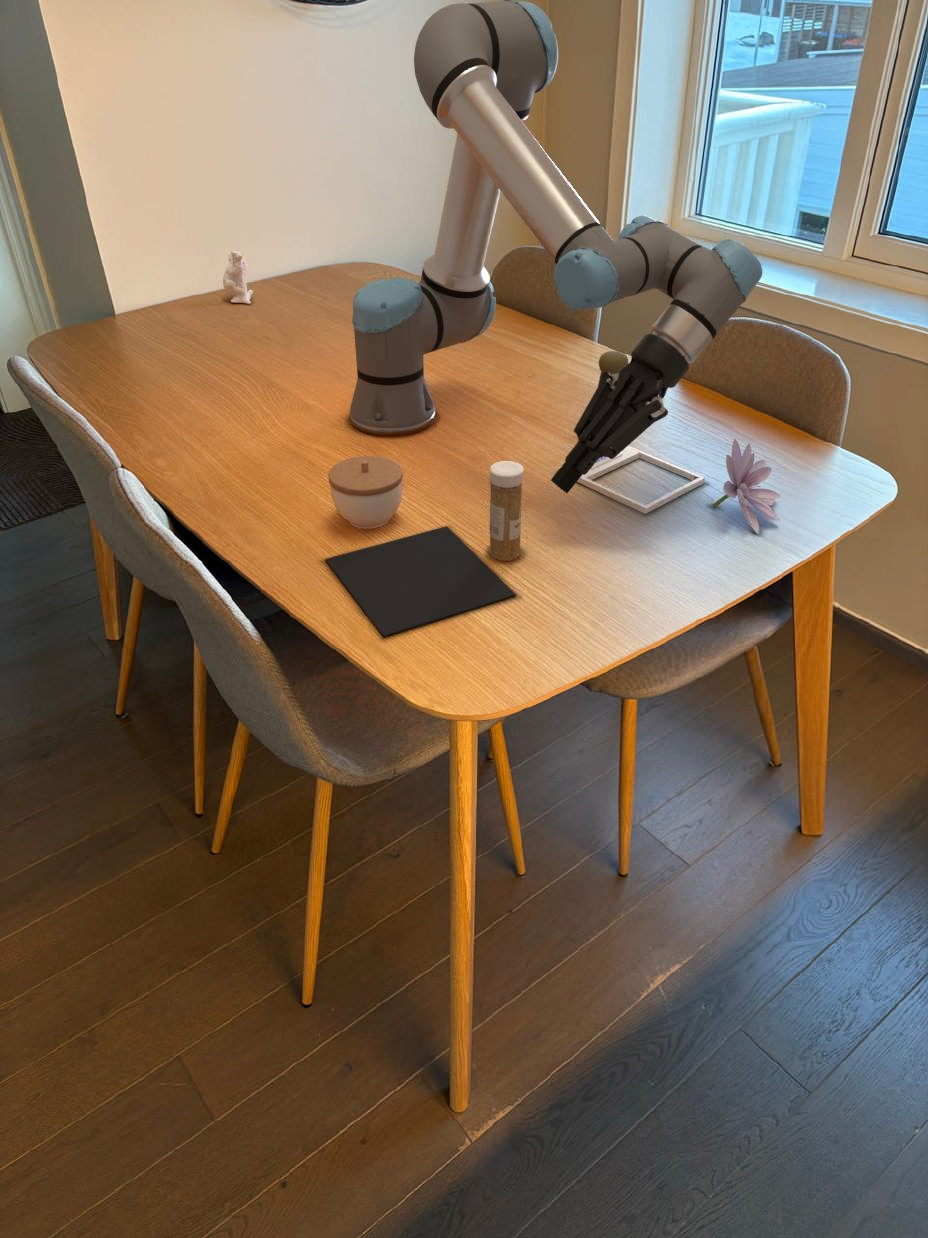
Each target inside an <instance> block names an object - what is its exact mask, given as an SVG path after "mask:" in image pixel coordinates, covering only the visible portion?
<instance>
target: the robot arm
mask: <svg viewBox="0 0 928 1238" xmlns="http://www.w3.org/2000/svg"><path fill="white" fill-rule="evenodd" d="M415 42H416V43H415V45H414V54H413V68H414V76H415V79H416V83H417V86H418V89H419V92H420V94H421V97H422V98H423V101H424V102H425V104H426V106H427V107H428V109H429V110H430V112H431V113H432V115H433V116H434V117H435V119H436V120H437V121H438V123H439V124H440V125H441V126H442V127H443V128H445V129H453V130H454V131H455V133H456V137H455V143H454V148H453V154H452V159H451V164H450V170H449V175H448V180H447V185H446V191H445V197H444V202H443V207H442V212H441V218H440V221H439V222H440V223H439V227H438V228H439V229H438V233H437V238H436V244H435V249H434V254H432V255H430V256H429V257H427V258H426V259H425V260H424V261H423V265H422V271H421V276H420V280H419V282H417V280H414V279H412V278H409V277H392V278H389V279H388V278H382V279H378V280H375V281H372V282H370V283H367V284H365V285H364V286H362V287H361V288H359V290H357V291H356V293H355V295H354V297H353V301H352V316H351V322H352V325H353V332H354V333H353V335H354V346H355V347H354V348H355V360H356V362H355V363H356V373H357V379H356V384H355V388H354V390H353V395H352V399H351V403H350V407H349V418H350V420H349V421H350V423H351V425H352V426H353V427H354V428H355V429H357V430H358V431H361V432H363V433H366V434H369V435H374V436H380V437H381V436H382V437H398V436H407V435H412V434H416V433H419V432H421V431H424V430H426V429H428V428H429V427H431V425H433V423H434V422H435V421H436V408H435V407H436V406H435V403H434V400H433V396H432V395H431V392H430V390H429V386H428V384H427V381H426V379H425V371H424V369H425V368H424V363H425V361H424V355H427V354H430V353H433V352H437V351H439V350H443V349H445V348H446V349H447V348H448V347H453V346H455V345H459V344H463V343H464V344H465V343H467V342H469V341H472V340H473V339H475V338H476V337H477V338H478V337H479V336H481V335H482V334H483V333H485V332H486V331H487V330H488V329H489V328H490V326H491V324H492V322H493V321H494V318H495V314H496V308H497V300H496V297H495V296H494V293H495V289H494V286H493V284H492V282H491V280H490V274H489V272H488V271H487V269H486V267H485V262H486V257H487V252H488V248H489V244H490V239H491V234H492V231H493V227H494V222H495V218H496V213H497V209H498V204H499V200H500V197H501V193H502V195H503V196H504V198H505V199H506V200H507V201H508V203H509V204H510V205H511V207H512V208H513V210H515V212H516V214H518V216H519V217H520V219H521V220H522V222H524V224H525V225H526V226H527V228H528V229H529V230H530V232H531V233H532V235H533V236H534V238H536V240H537V241H538V243H539V244H540V245H541V246H542V248H543V249H544V250H545V252H546V253H547V255H548V256H549V257H550V258H551V260H552V261H553V263H555V268H554V270H553V284H554V286H555V289H556V291H557V292H556V294H557V297H558V299H559V300H560V301H561V303H563V304H564V305H565V306H566V307H568V308H569V309H570V310H574V311H577V312H578V311H579V312H581V311H583V312H584V311H589V310H593V309H599V308H600V309H601V308H603V307H606V306H607V307H608V305H610V304H611V303H614V302H617V301H621V300H623V299H625V298H627V297H633V296H636V295H638V294H641V293H645V292H647V291H651V290H653V289H655V290H658V291H660V292H661V293H663V294H664V295H666V296H668V297H669V298H671V299H672V301H671V302H670V303H669V305H668V306H667V307H666V308H665V310H664V311H663V312H662V313H661V314H660V315H659V317H658V318H657V319H656V320H655V321H654V323H653V324H652V325H651V327H650V333H646V334H645V335H644V336H642V339H641V340H640V341H639V342H638V343H637V344H636V346H635V347H634V348H633V350H632V351H631V353H630V357H631V359H630V361H629V363H628V365H627V366H625V367H624V368H622V369H621V370H620V372H619V373H616V374H612V375H610V374H609V373H608V372H607V371H605V372H603V373H602V375H601V378H600V377H599V379H600V382H599V381H598V383H599V386H598V385H597V388H596V390H595V391H594V393H593V394H592V397H591V398H590V400H589V402H588V404H587V405H586V407H585V409H584V411H583V413H582V414H581V416H580V418H579V419H578V421H577V423H576V425H575V426H574V429H573V432H574V434H575V435H576V437H577V442H576V444H575V445H574V446H573V448H572V449H571V450H570V451H569V452H568V454H567V455H566V456H565V459H564V463H563V464H562V465H561V466H560V467H561V468H560V469H559V470H558V469H557V471H556V472H555V474H554V475H553V476H552V478H550V481H551V482H552V483H553V485H556V487H557V488H559V489H560V490H561V491H562V492H563V493H565V494H569V492H570V491H571V490H572V489H573V488H574V486H575V484H577V483H578V482H577V481H578V480H579V478H580V477H581V476H582V475H585V474H586V473H587V472H588V471H589V470H590V469H591V468H592V466H593V465H594V464H595V463H596V461H597V460H598V459H599V458H602V457H608V458H610V459H613V458H615V457H616V456H617V455H618V454H619V453H620V452H621V451H623V450H624V449H625V448H626V447H627V446H630V445H631V444H632V443H634V441H635V440H636V439H637V438H639V436H641V435H642V434H643V433H644V432H645V431H646V430H648V428H650V427H651V426H652V425H653V424H654V423H657V422H658V421H660V420H662V419H664V418H665V417H667V416H668V415H669V411H668V409H667V408H666V407H665V406H664V400H663V399H664V397H665V396H666V394H667V391H668V389H673V388H676V386H677V385H678V384H679V382H680V381H681V380H682V379H683V377H684V376H685V375H686V373H688V371H689V369H690V368H689V367H690V365H689V364H694V363H695V362H696V361H697V359H698V358H699V357H700V356H701V355H702V354H703V352H704V351H705V350H706V349H707V347H708V346H709V345H710V344H711V342H712V341H713V340H714V339H715V338H716V336H717V335H718V333H719V332H720V331H721V330H722V328H723V327H724V326H725V325H726V324H727V323H728V321H729V320H730V319H731V318H732V317H733V315H734V314H735V313H736V312H737V311H738V309H739V308H740V307H741V306H742V305H743V304H744V303H746V302H747V298H748V297H749V295H750V294H751V293H752V291H753V290H754V289H755V287H756V286H757V284H758V283H759V282H760V280H761V279H762V276H763V267H762V263H761V261H760V260H759V258H758V256H756V255H755V253H754V252H752V250H751V249H749V247H747V246H746V245H744V244H743V243H741V242H740V241H738V240H735V239H733V240H732V239H730V238H723V239H721V240H720V241H719V242H718V243H717V244H716V245H714V246H713V247H712V249H710V248H708V247H706V246H702V245H701V244H700V243H698V242H696V241H694V240H693V239H691V238H689V237H688V236H686V235H684V234H683V233H681V232H679V231H678V230H676V229H674V228H672V227H671V226H670V225H669V224H668V223H665V222H664V221H662V220H658V219H655V218H653V217H650V216H648V215H638V216H636V217H634V218H633V219H632V220H631V221H630V223H627V224H626V225H624V227H623V228H622V229H621V231H620V233H619V234H618V236H617V238H612V237H611V235H610V234H609V233H608V231H607V230H606V229H605V228H604V227H603V225H602V224H601V223H600V222H599V220H598V219H597V218H596V216H595V215H594V213H593V212H592V211H591V210H590V208H589V207H588V206H587V204H586V203H585V202H584V201H583V199H582V197H580V196H579V195H580V194H578V192H577V191H576V189H574V188H573V186H572V184H571V183H570V182H569V181H568V180H567V178H566V177H565V176H564V174H563V173H562V172H561V170H560V169H559V168H558V167H557V165H556V164H555V162H554V161H553V160H552V158H551V157H550V156H549V154H548V153H547V152H546V151H545V149H544V148H543V146H541V144H540V143H539V141H538V140H537V139H536V138H535V136H534V135H533V134H532V132H531V131H530V130H529V128H528V127H527V126H526V124H525V123H524V122H523V121H526V120H527V119H528V117H529V116H530V111H531V107H532V103H533V100H534V94H537V93H541V92H542V91H543V90H544V89H545V87H547V86H549V85H550V84H551V82H552V81H553V78H554V76H555V74H556V71H557V67H558V61H559V47H558V40H557V35H556V33H555V32H554V30H553V24H552V21H551V19H549V17H548V15H547V14H546V13H545V12H544V10H543V9H542V8H540V7H539V6H538V5H537V4H535V3H533V2H530V1H522V0H503V1H502V0H501V1H487V2H472V3H465V2H461V3H460V2H458V3H451V4H448V5H446V6H444V7H441V8H440V9H438V10H437V11H435V12H433V13H432V15H430V16H429V18H428V19H427V20H426V21H425V22H424V24H423V25H422V27H421V29H420V31H419V33H418V36H417V39H416V41H415Z"/></svg>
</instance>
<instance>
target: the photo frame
mask: <svg viewBox="0 0 928 1238" xmlns="http://www.w3.org/2000/svg"><path fill="white" fill-rule="evenodd" d="M637 459H642V460H644V461H646V462H649V463H651V464H653V465H655V466H658V467H660V468H662V469H665V470H668V471H669V472H671V473H675V474H677V475H680V476H681V477H684V478H686V479H688V480H691V481H690V482H687V483H686V484H684V485H682V486H679V487H678V488H676V489H674V490H672V491H670V492H668V493H666V494H664V495H662V496H660V497H659V498H657V499H655V500H653V501H650V502H649V503H647V504H643V503H641V502H639V501H637V500H635V499H632V498H631V497H628V496H626V495H624V494H622V493H619V492H617V491H615V490H613V489H611V488H609V487H607V486H604V485H602V484H600V483H598V482H595V481H594V480H595V479H597V478H599V477H602V476H603V475H605V474H608V473H610V472H612V471H614V470H616V469H618V468H620V467H622V466H625V465H626V464H629V463H631V462H633V461H635V460H637ZM560 468H561V466H558V468H557V471H558V470H559V469H560ZM705 481H706V477H705V476H703V475H700V474H697V473H695V472H693V471H690V470H688V469H686V468H684V467H681V466H678V465H676V464H673V463H671V462H669V461H666V460H663V459H661V458H659V457H657V456H654V455H652V454H650V453H648V452H645V451H643V450H640V449H638V448H635V447H633V446H631V445H628V446H627V447H626V448H625V449H624V450H623V451H621V452H620V453H619V454H618V455H617V456H616V457H615V458H613V459H610V458H608V457H602V458H599V459H598V460H597V461H596V463H595V464H594V465H593V466H592V468H591V469H590V470H589V471H588V472H587V473H586V474H585V475H582V476H581V477H580V478H579V480H578V481H577V482H576V483H579V484H581V485H583V486H585V487H587V488H589V489H591V490H594V491H596V492H598V493H600V494H602V495H603V496H606V497H608V498H611V499H612V500H615V501H617V502H619V503H621V504H623V505H626V506H628V507H630V508H632V509H634V510H636V511H638V512H640V513H643V514H645V515H646V514H648V513H649V512H652V511H654V510H656V509H657V508H660V507H661V506H663V505H665V504H667V503H669V502H671V501H673V500H675V499H677V498H678V497H680V496H682V495H684V494H687V493H688V492H690V491H692V490H694V489H696V488H698V487H699V486H701V485H703V484H705Z"/></svg>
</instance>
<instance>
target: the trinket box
mask: <svg viewBox="0 0 928 1238" xmlns="http://www.w3.org/2000/svg"><path fill="white" fill-rule="evenodd" d="M327 476H328V477H327V478H328V483H329V486H330V487H329V488H330V494H331V499H332V502H333V505H334V507H335V509H336V511H337V512H338V513H339V515H340V516H341V517H342V519H344V520H345V521H347V522H348V523H349V524H350V525H351V526H352V527H353V528H354V527H355V528H357V529H360V530H361V529H362V530H372V529H379V528H380V527H383V526H385V525H386V524H387V523H388V522H389V520H390V519H391V518H393V517H394V515H395V514H396V513H397V511H398V510H399V508H400V504H401V502H402V495H403V478H404V477H403V476H404V473H403V469H402V466H401V465H400V464H399V463H397V461H394V460H392V459H390V458H387V457H382V456H378V455H376V456H375V455H361V456H355V457H350V458H347V459H344V460H341V461H339V462H337V463H335V464H334V465H333V466H332V467H331V468H330V470H329V471H328V473H327Z"/></svg>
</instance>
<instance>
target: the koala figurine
mask: <svg viewBox="0 0 928 1238" xmlns="http://www.w3.org/2000/svg"><path fill="white" fill-rule="evenodd" d="M246 259H247V258H246V257H245V256H244V255H242V254H241V251H240V250H231V251H230V254H228V262H229V264H228V265H227V267H226V268H225V270H224V274H223V277H222V286H223V289H224V291H225V292H226V293H228V294H235V295H233V296H232V299H230V302H231V303H236V304H237V303H240V304H248V305H249V304H252V302H251V299H252V295H253V293H254V290H252V289H249V290H248V286H247V281H246V270H247V269H248V267H249V265H248V264H247V261H246Z"/></svg>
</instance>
